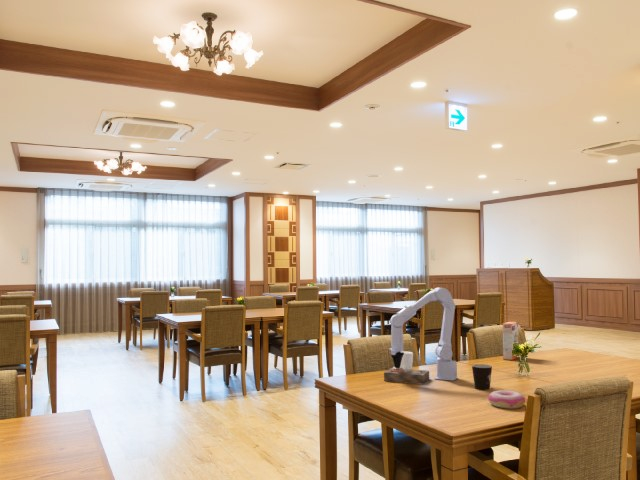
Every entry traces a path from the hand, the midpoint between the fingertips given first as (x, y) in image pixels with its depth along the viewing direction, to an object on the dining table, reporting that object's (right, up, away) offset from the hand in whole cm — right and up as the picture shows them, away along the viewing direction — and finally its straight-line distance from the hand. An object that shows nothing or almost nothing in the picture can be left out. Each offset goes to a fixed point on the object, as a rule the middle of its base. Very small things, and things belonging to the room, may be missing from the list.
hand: (397, 367), depth 268 cm
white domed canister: (+8, -5, -4) cm, 10 cm away
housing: (+4, -5, -2) cm, 7 cm away
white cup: (+7, -6, +18) cm, 20 cm away
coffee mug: (+36, -4, -21) cm, 42 cm away
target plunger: (0, -4, 0) cm, 4 cm away
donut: (+36, -3, -51) cm, 62 cm away
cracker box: (+74, -7, +55) cm, 93 cm away
